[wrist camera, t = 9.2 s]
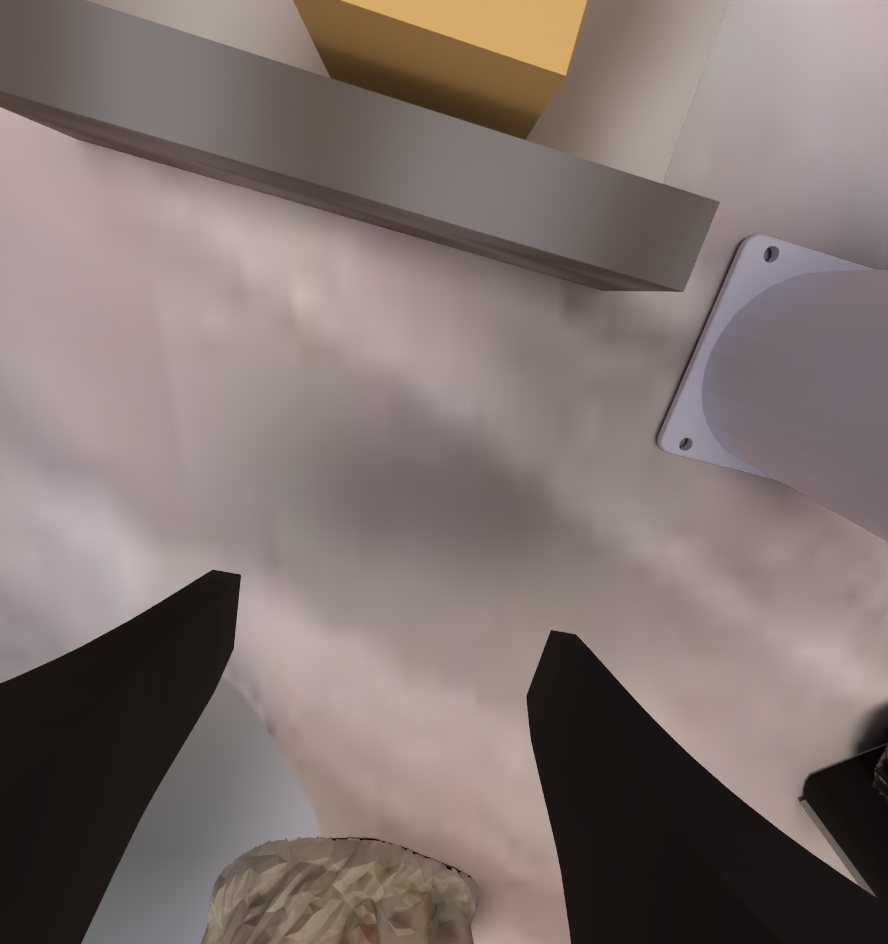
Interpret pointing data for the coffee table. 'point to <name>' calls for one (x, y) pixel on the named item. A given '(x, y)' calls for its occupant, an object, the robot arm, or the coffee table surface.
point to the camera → (854, 814)
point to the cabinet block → (451, 53)
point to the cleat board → (389, 127)
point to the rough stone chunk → (339, 896)
